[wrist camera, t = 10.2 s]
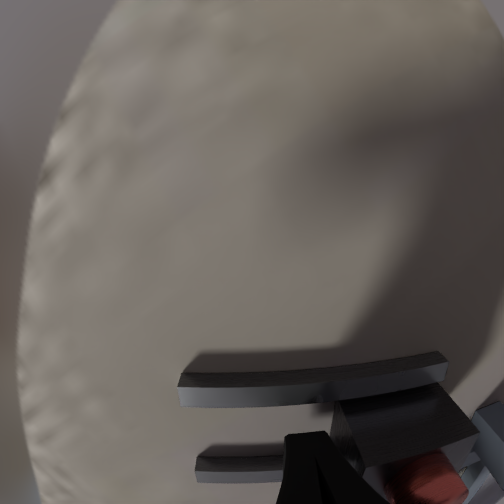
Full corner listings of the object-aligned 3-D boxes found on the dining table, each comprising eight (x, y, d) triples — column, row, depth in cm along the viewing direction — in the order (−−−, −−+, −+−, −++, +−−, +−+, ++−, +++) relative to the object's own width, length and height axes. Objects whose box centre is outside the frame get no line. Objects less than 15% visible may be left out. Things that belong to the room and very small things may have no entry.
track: (408, 445, 11) (415, 457, 10) (199, 468, 11) (197, 482, 10) (438, 351, 10) (449, 361, 9) (181, 372, 10) (177, 387, 9)
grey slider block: (417, 426, 10) (470, 510, 6) (328, 444, 10) (359, 550, 5) (433, 377, 10) (505, 462, 5) (336, 394, 10) (383, 511, 5)
